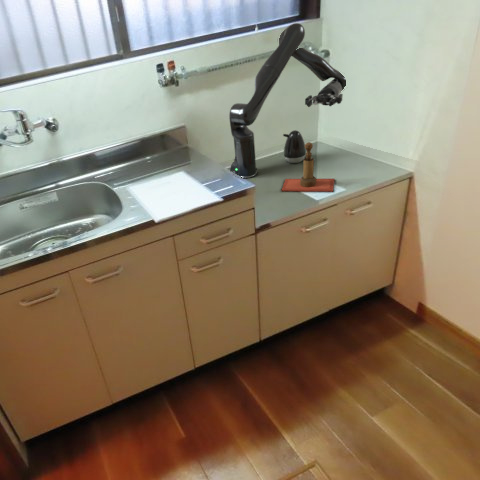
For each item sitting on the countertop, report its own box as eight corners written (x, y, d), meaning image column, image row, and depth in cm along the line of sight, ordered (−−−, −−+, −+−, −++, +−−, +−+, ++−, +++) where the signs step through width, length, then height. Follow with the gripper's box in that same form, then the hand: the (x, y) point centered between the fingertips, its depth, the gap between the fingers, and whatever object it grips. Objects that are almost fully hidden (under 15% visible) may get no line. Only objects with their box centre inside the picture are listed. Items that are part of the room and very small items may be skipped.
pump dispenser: (281, 159, 201) (280, 129, 193) (302, 156, 199) (302, 125, 192) (286, 166, 192) (285, 135, 184) (308, 163, 191) (308, 131, 183)
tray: (281, 191, 170) (281, 190, 169) (285, 180, 179) (285, 178, 179) (332, 192, 161) (332, 190, 161) (334, 179, 171) (334, 178, 170)
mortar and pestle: (317, 186, 166) (318, 144, 157) (300, 187, 168) (300, 146, 159) (315, 180, 172) (316, 139, 163) (299, 181, 174) (299, 141, 165)
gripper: (312, 86, 178) (301, 95, 167) (347, 84, 171) (338, 93, 160) (312, 103, 182) (301, 113, 171) (346, 102, 174) (337, 112, 163)
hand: (319, 104), depth 165 cm, fingers open, 8 cm apart
